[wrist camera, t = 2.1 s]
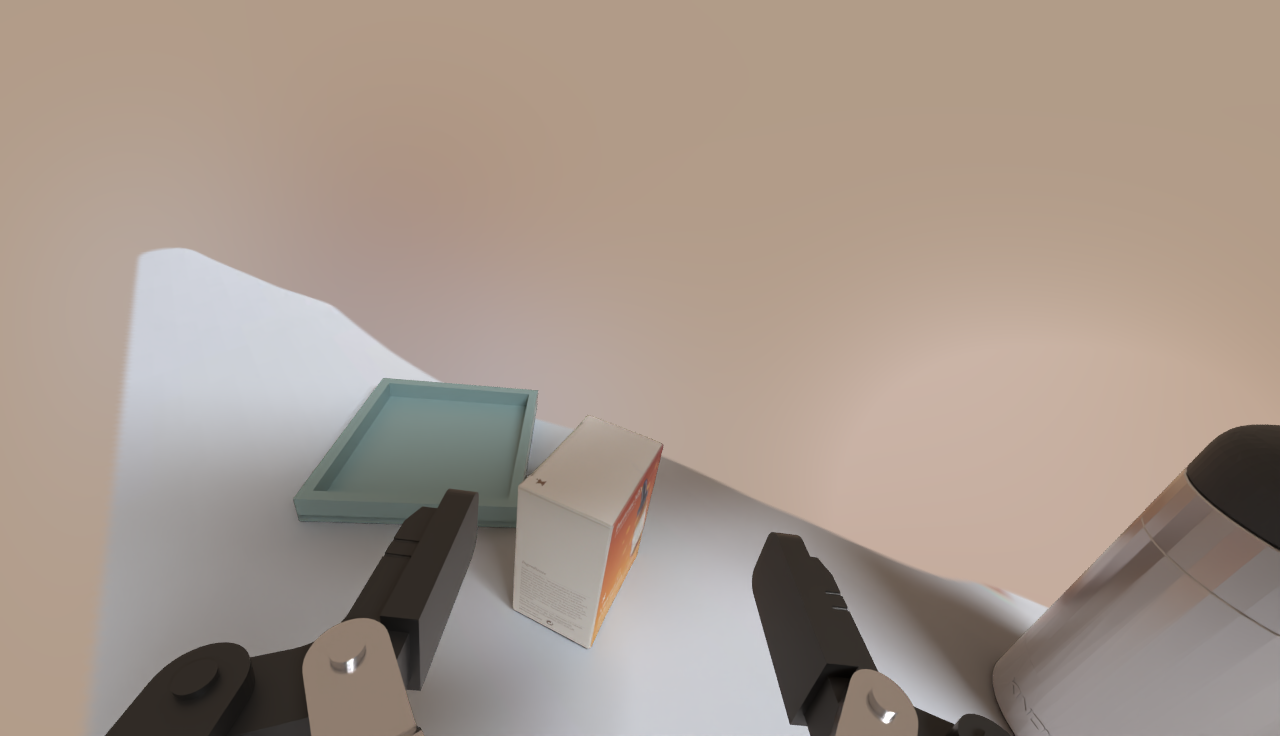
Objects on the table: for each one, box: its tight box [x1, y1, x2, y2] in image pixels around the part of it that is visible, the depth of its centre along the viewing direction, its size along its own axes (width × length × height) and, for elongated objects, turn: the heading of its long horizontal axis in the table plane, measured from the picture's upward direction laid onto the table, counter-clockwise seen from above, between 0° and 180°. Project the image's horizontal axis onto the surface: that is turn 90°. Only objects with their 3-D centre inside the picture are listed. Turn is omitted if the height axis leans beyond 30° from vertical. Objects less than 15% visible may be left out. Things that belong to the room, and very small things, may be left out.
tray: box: [293, 378, 538, 528], centre depth 39 cm, size 15×16×2 cm
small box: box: [513, 415, 663, 649], centre depth 28 cm, size 8×6×10 cm
